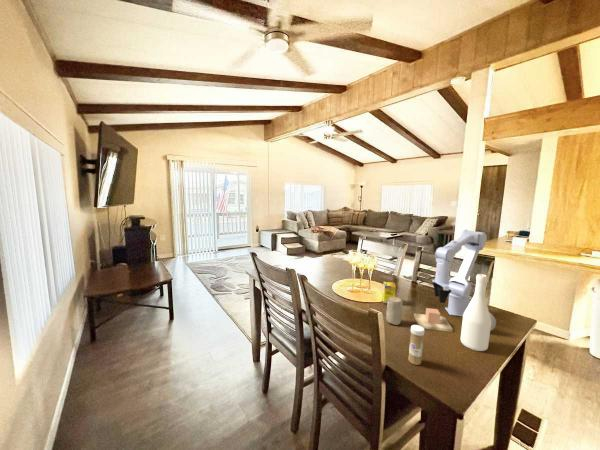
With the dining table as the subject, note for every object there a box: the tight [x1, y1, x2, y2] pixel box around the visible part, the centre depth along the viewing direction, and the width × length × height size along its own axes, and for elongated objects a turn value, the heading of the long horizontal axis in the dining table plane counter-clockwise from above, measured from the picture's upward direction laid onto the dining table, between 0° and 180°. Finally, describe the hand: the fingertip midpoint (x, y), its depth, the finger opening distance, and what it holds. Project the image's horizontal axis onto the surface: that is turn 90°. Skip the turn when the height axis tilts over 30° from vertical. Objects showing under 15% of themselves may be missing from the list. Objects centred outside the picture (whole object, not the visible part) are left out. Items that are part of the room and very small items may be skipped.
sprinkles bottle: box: [407, 324, 425, 366], centre depth 96 cm, size 5×5×14 cm
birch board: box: [413, 313, 454, 333], centre depth 124 cm, size 14×12×1 cm
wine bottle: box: [459, 273, 491, 352], centre depth 105 cm, size 10×10×30 cm
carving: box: [385, 296, 404, 326], centre depth 124 cm, size 6×8×12 cm
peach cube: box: [425, 307, 441, 324], centre depth 124 cm, size 5×5×5 cm
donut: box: [489, 312, 497, 332], centre depth 118 cm, size 10×3×10 cm, turn 63°
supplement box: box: [382, 281, 397, 305], centre depth 146 cm, size 6×6×11 cm
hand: (439, 299), depth 127 cm, fingers open, 7 cm apart
